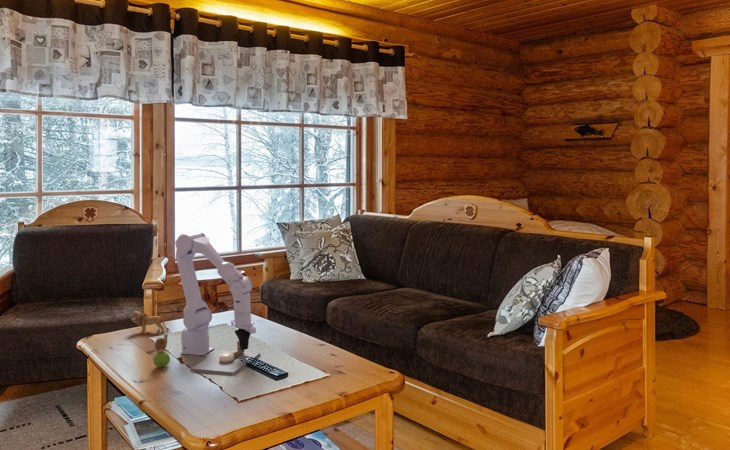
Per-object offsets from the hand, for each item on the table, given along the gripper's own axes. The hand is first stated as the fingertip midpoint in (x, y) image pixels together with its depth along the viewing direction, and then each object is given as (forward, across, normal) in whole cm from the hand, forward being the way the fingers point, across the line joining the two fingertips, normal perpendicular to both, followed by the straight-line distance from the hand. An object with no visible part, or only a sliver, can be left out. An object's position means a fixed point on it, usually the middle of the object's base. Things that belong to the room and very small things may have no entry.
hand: (244, 349), depth 220 cm
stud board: (+3, -1, +8) cm, 8 cm away
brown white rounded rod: (+2, 0, +5) cm, 5 cm away
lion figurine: (+3, +55, +14) cm, 56 cm away
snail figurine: (+3, +10, +26) cm, 28 cm away
